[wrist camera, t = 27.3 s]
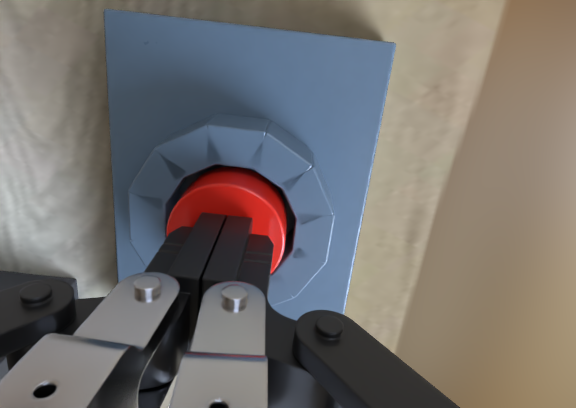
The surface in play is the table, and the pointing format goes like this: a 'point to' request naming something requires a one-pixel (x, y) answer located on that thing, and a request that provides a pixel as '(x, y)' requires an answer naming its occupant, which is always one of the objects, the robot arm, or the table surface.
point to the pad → (246, 136)
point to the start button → (235, 204)
